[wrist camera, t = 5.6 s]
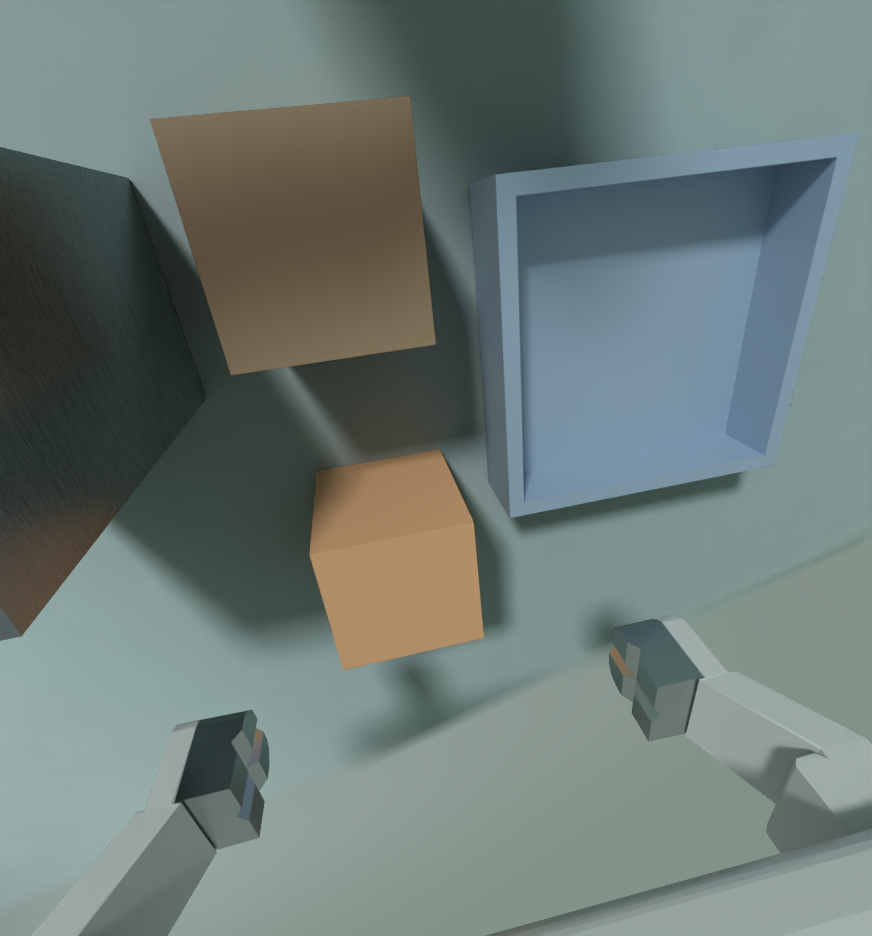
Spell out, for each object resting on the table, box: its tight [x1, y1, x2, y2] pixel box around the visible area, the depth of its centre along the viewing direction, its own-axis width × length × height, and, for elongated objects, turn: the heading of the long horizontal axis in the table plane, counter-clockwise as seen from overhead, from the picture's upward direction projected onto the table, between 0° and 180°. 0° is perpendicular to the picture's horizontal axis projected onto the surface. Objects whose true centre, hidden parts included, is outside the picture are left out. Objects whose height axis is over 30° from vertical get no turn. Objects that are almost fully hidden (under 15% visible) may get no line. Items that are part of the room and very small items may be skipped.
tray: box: [469, 133, 859, 518], centre depth 15 cm, size 10×10×3 cm
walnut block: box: [150, 96, 436, 375], centre depth 12 cm, size 4×4×5 cm
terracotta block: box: [309, 449, 484, 670], centre depth 16 cm, size 4×4×5 cm
